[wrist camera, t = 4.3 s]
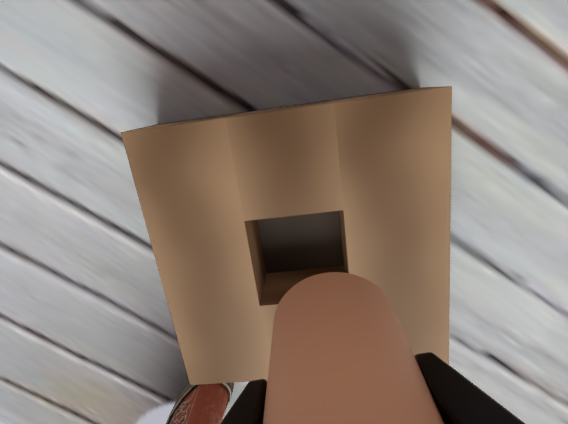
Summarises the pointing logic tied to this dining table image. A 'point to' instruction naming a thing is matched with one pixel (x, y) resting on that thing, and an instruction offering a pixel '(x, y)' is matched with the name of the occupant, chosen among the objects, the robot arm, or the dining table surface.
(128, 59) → the dining table surface
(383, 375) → the peg
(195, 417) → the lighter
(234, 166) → the bore block
